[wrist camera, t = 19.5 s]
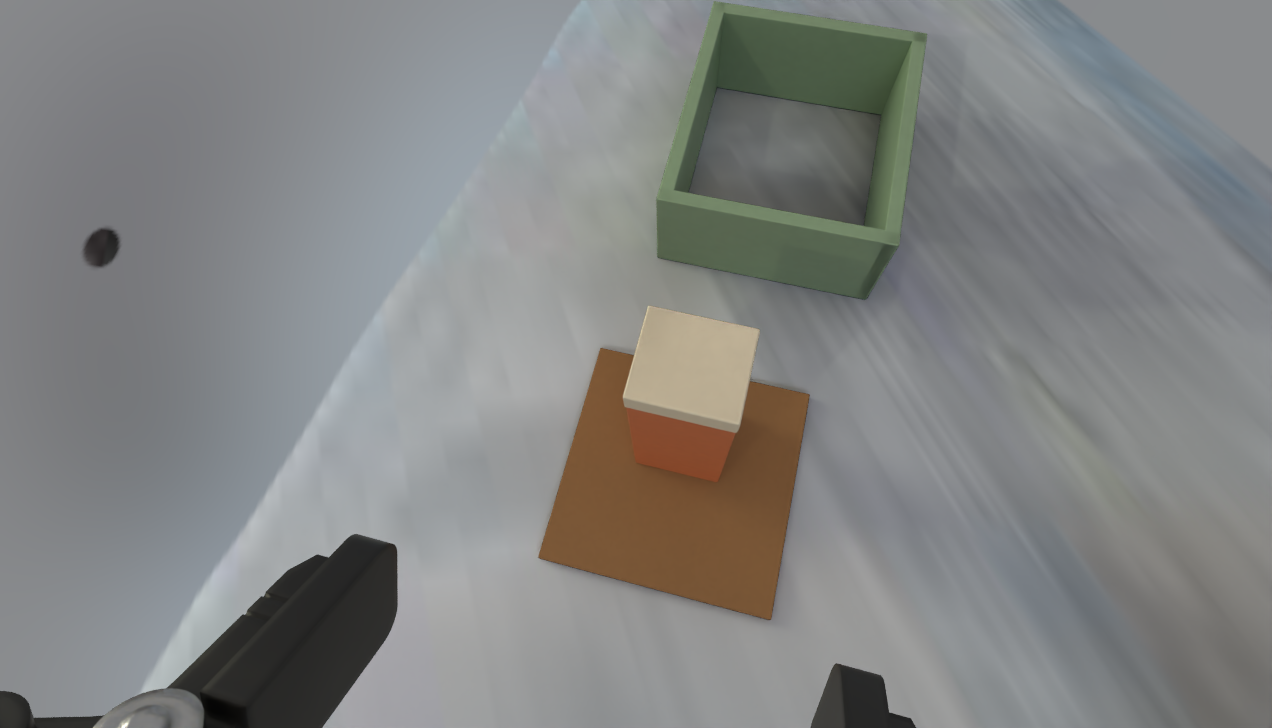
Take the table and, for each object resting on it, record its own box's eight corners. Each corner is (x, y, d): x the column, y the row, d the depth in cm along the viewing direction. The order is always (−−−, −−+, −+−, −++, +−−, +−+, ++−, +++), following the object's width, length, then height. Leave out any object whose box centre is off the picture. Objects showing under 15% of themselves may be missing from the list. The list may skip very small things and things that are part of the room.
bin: (894, 107, 44) (927, 33, 39) (865, 300, 39) (899, 246, 34) (707, 76, 46) (713, 0, 40) (657, 257, 41) (656, 199, 35)
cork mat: (808, 396, 37) (810, 394, 37) (769, 620, 33) (770, 620, 33) (601, 350, 39) (600, 347, 39) (539, 558, 35) (538, 557, 34)
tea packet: (734, 412, 37) (760, 328, 27) (718, 484, 35) (740, 425, 25) (652, 393, 37) (648, 304, 27) (633, 463, 36) (622, 397, 26)
